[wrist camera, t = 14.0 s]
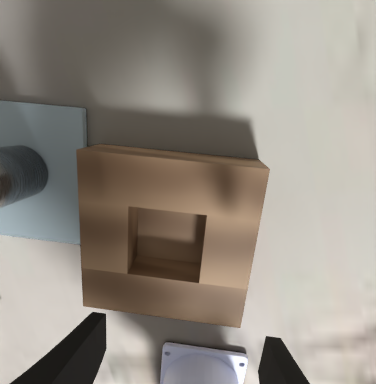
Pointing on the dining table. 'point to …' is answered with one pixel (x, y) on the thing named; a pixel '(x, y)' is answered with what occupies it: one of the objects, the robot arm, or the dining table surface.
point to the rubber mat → (56, 167)
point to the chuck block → (168, 231)
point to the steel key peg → (20, 174)
